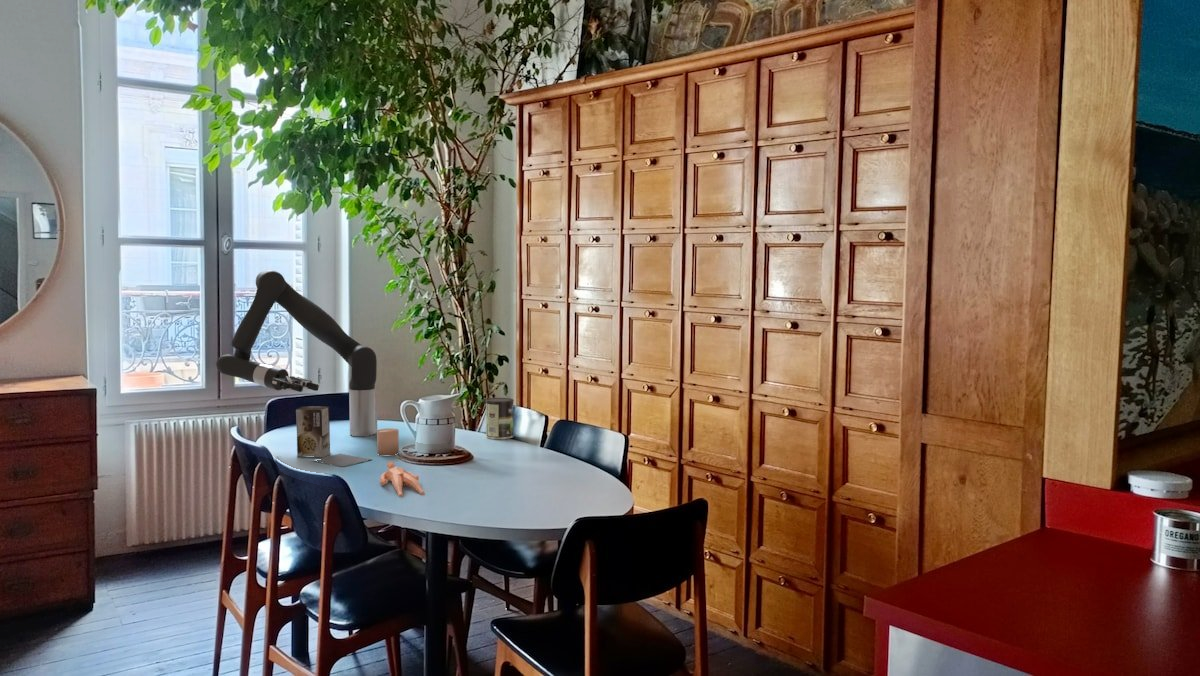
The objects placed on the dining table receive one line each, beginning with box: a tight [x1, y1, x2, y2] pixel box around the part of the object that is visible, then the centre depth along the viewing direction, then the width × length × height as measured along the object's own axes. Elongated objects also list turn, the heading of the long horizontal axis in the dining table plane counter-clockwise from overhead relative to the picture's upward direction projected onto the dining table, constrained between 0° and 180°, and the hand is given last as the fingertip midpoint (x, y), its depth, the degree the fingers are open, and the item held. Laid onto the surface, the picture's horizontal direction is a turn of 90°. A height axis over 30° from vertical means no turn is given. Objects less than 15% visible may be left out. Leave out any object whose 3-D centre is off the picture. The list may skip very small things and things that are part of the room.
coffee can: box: [485, 397, 514, 440], centre depth 321 cm, size 10×10×14 cm
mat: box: [317, 453, 372, 468], centre depth 280 cm, size 12×15×1 cm
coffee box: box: [295, 405, 331, 458], centre depth 287 cm, size 9×6×16 cm
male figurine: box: [379, 460, 425, 498], centre depth 249 cm, size 11×5×25 cm
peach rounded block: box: [376, 427, 400, 456], centre depth 291 cm, size 7×7×8 cm
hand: (310, 388), depth 291 cm, fingers open, 8 cm apart
